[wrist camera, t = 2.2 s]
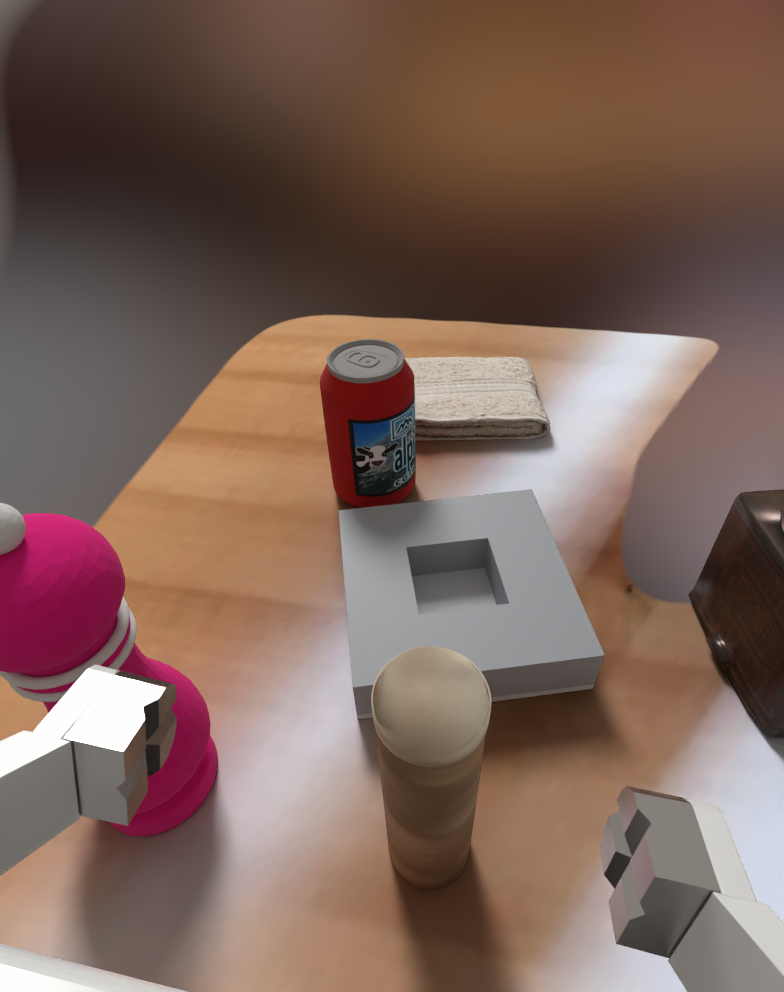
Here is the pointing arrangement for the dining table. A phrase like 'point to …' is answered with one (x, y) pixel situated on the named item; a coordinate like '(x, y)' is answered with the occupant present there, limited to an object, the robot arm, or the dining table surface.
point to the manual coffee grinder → (748, 604)
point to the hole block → (465, 594)
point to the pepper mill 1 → (91, 647)
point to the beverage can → (370, 422)
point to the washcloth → (476, 399)
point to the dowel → (430, 759)
